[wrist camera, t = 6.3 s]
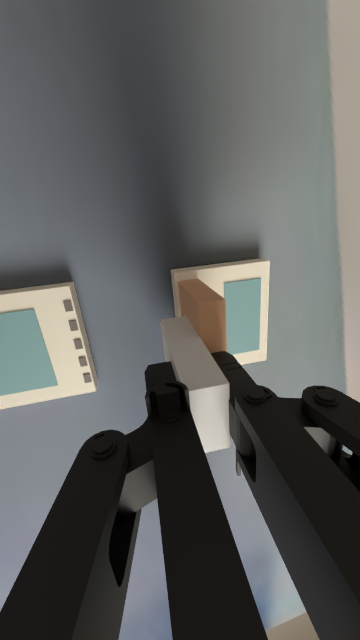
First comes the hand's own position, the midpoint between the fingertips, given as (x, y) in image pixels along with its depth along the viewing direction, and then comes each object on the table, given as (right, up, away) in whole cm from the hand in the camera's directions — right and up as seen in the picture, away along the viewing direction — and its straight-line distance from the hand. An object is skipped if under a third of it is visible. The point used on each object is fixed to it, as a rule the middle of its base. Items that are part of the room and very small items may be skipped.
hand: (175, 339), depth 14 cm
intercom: (+3, +1, +3) cm, 5 cm away
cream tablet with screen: (-10, -1, +1) cm, 10 cm away
